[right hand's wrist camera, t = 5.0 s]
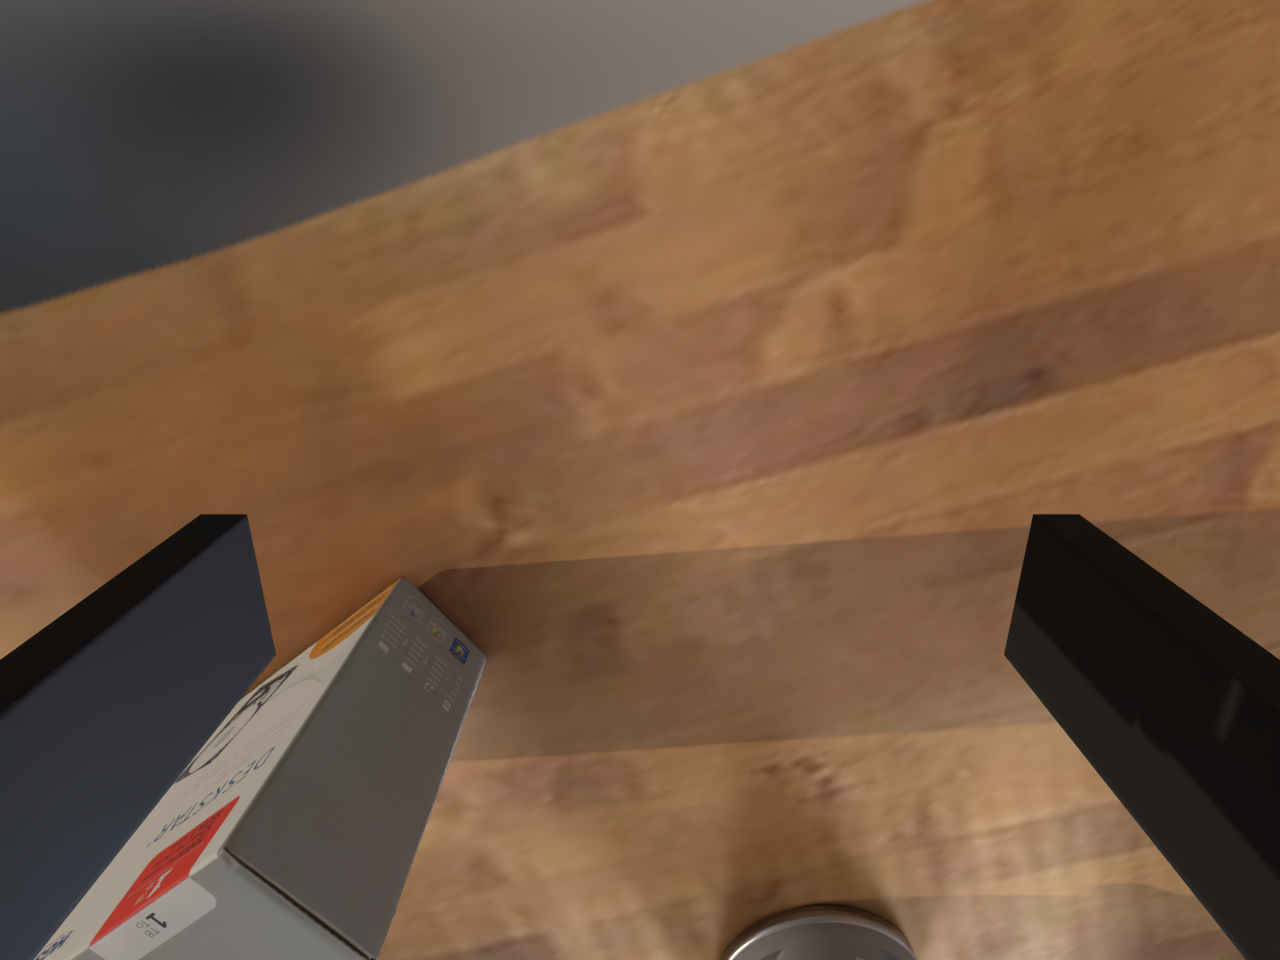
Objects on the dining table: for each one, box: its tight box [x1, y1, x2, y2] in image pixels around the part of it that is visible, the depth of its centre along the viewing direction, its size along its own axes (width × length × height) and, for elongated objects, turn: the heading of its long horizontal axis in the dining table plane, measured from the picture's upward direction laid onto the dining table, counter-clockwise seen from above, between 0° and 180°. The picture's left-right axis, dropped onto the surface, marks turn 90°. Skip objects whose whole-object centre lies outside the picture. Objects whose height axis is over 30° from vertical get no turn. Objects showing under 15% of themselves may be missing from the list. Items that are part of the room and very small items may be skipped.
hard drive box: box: [34, 578, 486, 960], centre depth 37 cm, size 16×8×20 cm, turn 128°
